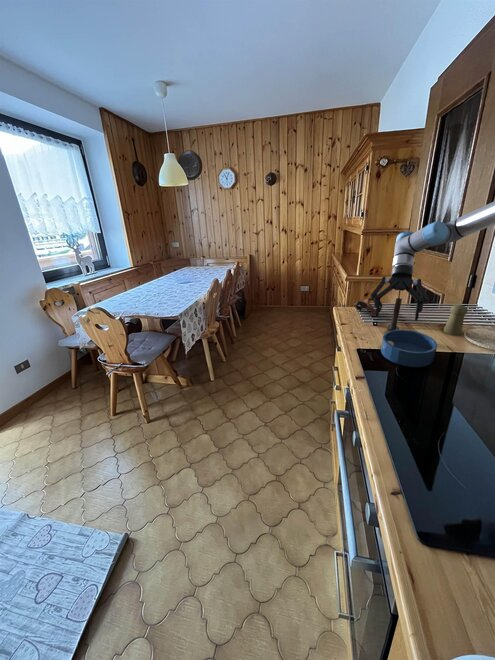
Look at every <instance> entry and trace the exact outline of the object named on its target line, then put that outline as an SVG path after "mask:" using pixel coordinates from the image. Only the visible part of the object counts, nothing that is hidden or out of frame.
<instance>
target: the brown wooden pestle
mask: <svg viewBox="0 0 495 660" xmlns="http://www.w3.org/2000/svg"><path fill="white" fill-rule="evenodd" d="M402 301H403V298H400V297H397V298H395V301H394V306H393V311H392V312H393V313H392V316H391V317H392V318H391V323H390V324H388V325H387V326H386V332H388V331H392V330H400V326H399V325H398V321H399V317H400V316H399V315H400V311H401V306H402ZM386 332H385V333H386Z"/></svg>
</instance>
